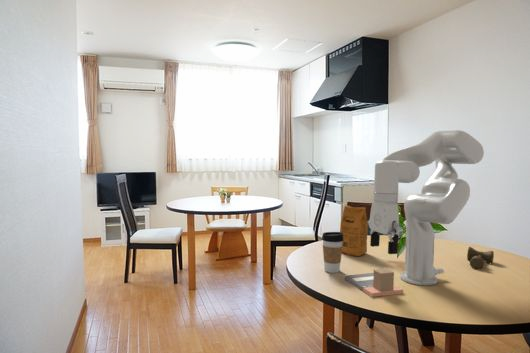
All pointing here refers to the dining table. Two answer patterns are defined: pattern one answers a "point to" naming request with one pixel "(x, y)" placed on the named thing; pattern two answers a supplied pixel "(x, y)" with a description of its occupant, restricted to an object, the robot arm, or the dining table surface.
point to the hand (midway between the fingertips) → (383, 249)
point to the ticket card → (361, 280)
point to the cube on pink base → (383, 284)
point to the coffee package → (354, 231)
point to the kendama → (479, 258)
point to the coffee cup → (332, 251)
